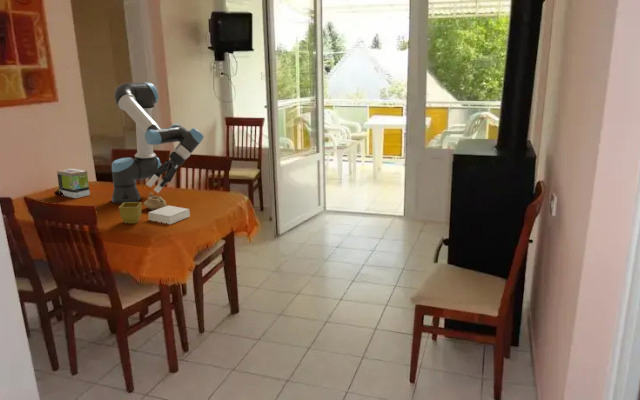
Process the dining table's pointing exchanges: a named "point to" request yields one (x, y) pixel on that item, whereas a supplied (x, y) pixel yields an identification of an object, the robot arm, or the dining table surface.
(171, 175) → the robot arm
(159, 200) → the oil lamp
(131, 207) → the flower pot
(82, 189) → the tea box
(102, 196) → the dining table surface
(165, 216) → the plinth
